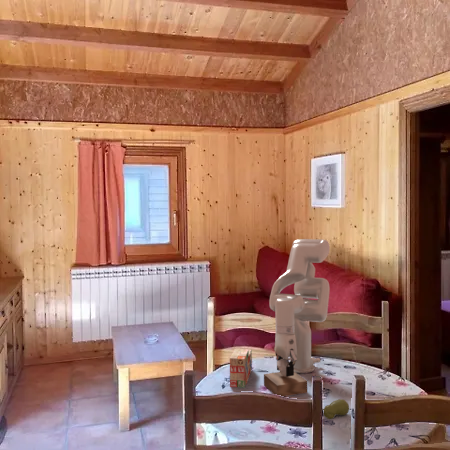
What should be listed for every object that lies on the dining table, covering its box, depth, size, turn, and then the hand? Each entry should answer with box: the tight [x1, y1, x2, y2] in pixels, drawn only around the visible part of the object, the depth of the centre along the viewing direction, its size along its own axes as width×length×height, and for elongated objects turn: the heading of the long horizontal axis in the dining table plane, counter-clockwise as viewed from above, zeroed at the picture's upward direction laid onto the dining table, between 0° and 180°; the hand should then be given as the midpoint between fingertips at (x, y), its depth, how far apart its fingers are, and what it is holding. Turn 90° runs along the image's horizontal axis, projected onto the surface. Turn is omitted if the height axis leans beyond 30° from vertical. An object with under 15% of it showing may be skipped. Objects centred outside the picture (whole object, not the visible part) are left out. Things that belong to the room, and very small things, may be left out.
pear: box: [322, 398, 350, 420], centre depth 170 cm, size 6×5×10 cm
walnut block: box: [263, 371, 308, 397], centre depth 194 cm, size 13×13×5 cm
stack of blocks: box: [229, 348, 253, 389], centre depth 206 cm, size 21×6×12 cm, turn 169°
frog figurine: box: [276, 358, 290, 377], centre depth 194 cm, size 6×7×7 cm
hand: (285, 372), depth 194 cm, fingers closed on frog figurine, 6 cm apart
